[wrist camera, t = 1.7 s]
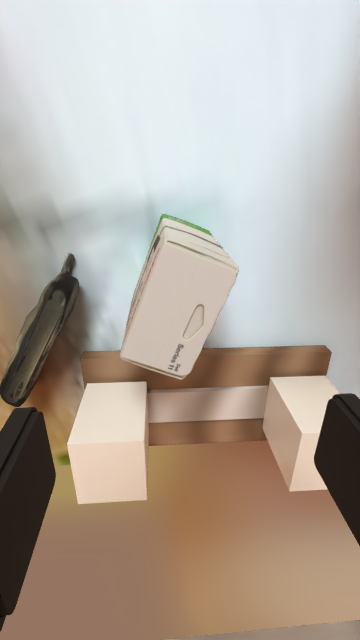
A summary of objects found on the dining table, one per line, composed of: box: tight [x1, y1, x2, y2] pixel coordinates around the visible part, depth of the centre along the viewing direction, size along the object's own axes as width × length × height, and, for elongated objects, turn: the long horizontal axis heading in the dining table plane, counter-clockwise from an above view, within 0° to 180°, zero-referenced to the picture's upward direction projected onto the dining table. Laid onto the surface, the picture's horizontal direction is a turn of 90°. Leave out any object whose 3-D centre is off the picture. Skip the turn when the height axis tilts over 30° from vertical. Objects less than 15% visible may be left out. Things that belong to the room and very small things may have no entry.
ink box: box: [120, 214, 239, 380], centre depth 24 cm, size 9×5×12 cm, turn 158°
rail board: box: [81, 345, 332, 446], centre depth 35 cm, size 26×12×2 cm, turn 89°
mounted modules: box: [67, 376, 340, 504], centre depth 31 cm, size 25×7×8 cm, turn 89°
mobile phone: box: [0, 253, 79, 407], centre depth 29 cm, size 5×3×15 cm
